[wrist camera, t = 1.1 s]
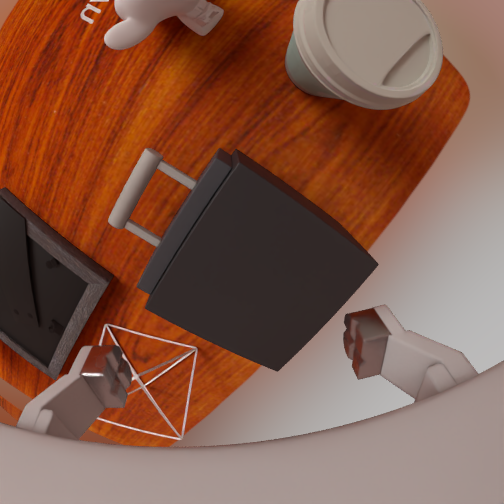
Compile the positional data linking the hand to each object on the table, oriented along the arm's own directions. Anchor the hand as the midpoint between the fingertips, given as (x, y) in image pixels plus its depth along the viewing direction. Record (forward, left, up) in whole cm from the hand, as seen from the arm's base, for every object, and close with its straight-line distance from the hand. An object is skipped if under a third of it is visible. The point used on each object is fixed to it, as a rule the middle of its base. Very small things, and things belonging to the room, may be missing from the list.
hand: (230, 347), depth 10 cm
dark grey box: (+4, +2, -18) cm, 18 cm away
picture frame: (+5, -26, -18) cm, 32 cm away
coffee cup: (-11, +10, -18) cm, 23 cm away
